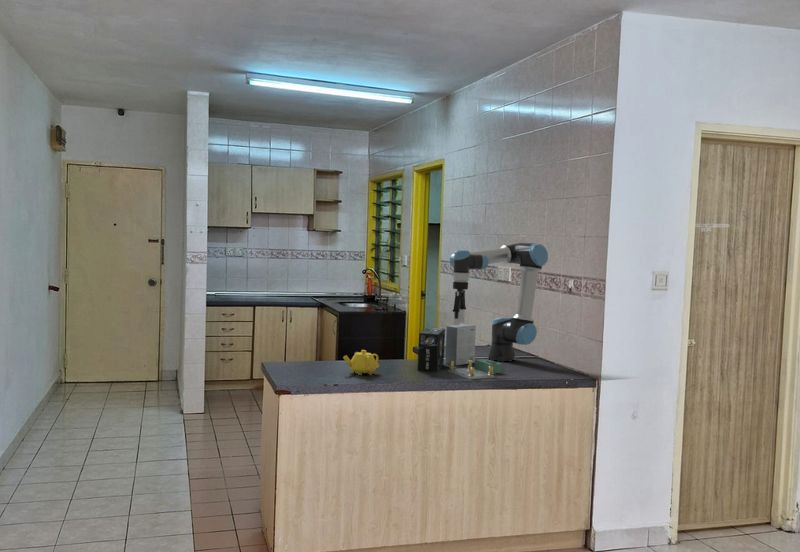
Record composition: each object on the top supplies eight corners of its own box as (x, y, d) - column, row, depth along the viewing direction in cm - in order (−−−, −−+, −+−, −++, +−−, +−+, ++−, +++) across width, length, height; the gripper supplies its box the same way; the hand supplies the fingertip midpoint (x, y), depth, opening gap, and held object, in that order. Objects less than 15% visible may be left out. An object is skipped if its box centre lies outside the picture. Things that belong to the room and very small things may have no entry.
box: (437, 372, 353) (439, 333, 352) (417, 371, 354) (418, 332, 354) (444, 365, 375) (445, 328, 374) (425, 363, 377) (426, 327, 376)
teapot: (355, 369, 350) (355, 346, 350) (381, 372, 345) (382, 349, 345) (341, 374, 337) (342, 350, 336) (368, 377, 332) (369, 353, 331)
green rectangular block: (486, 368, 370) (486, 357, 370) (501, 373, 358) (502, 362, 358) (474, 369, 367) (475, 358, 367) (489, 374, 355) (489, 363, 355)
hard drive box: (463, 361, 390) (465, 323, 389) (474, 363, 385) (476, 325, 384) (444, 363, 379) (446, 325, 378) (455, 365, 374) (457, 327, 373)
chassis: (470, 370, 363) (471, 359, 362) (493, 377, 345) (494, 366, 345) (448, 371, 357) (448, 360, 356) (470, 379, 339) (471, 368, 339)
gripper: (457, 279, 375) (456, 320, 377) (448, 282, 351) (446, 325, 352) (472, 280, 373) (470, 321, 375) (463, 282, 349) (462, 327, 351)
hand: (458, 323), depth 364 cm, fingers open, 13 cm apart
